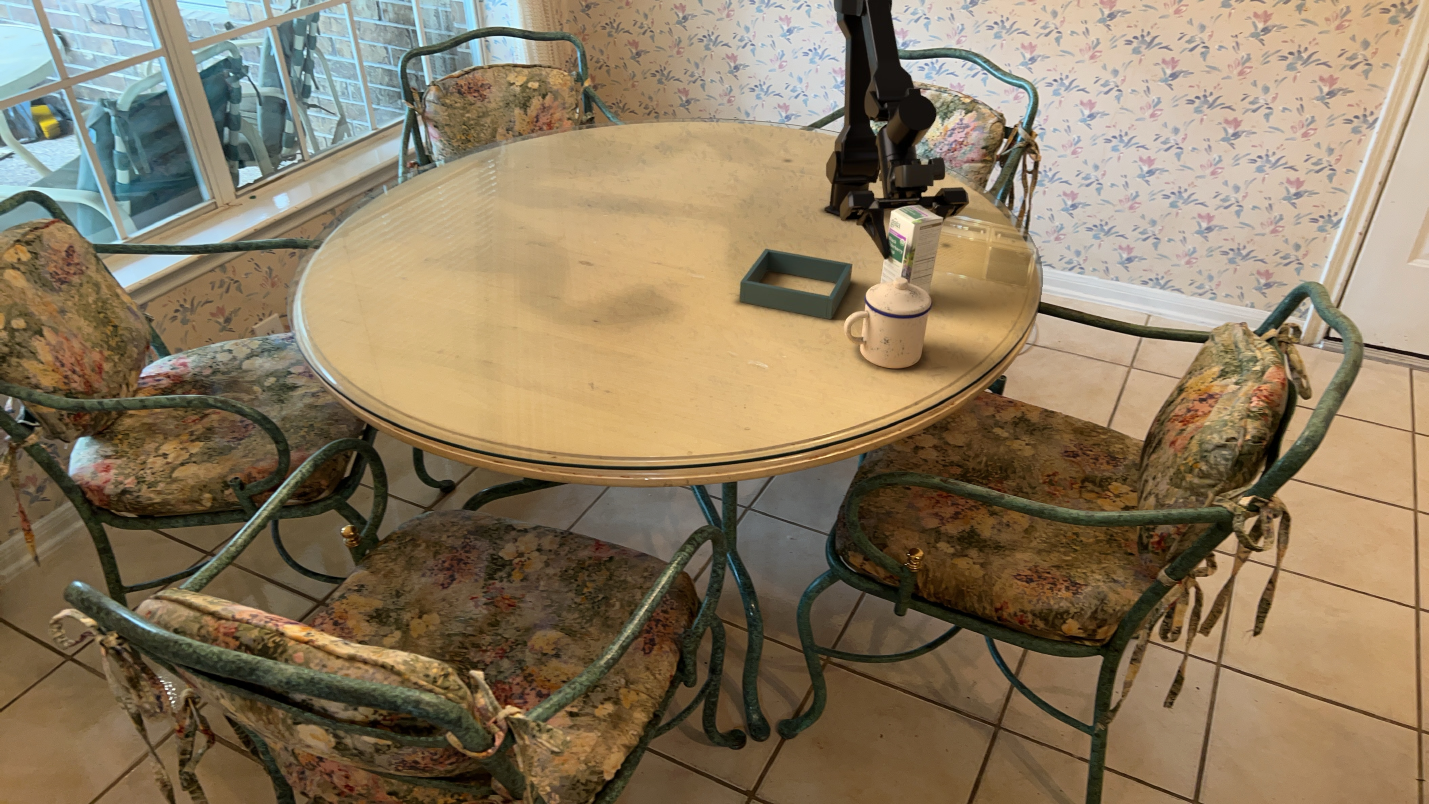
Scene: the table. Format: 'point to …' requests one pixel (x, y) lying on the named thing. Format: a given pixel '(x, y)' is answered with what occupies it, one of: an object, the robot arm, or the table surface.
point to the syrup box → (912, 246)
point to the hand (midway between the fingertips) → (909, 257)
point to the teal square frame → (789, 297)
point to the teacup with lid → (892, 323)
